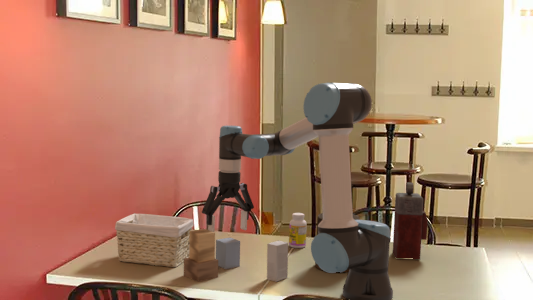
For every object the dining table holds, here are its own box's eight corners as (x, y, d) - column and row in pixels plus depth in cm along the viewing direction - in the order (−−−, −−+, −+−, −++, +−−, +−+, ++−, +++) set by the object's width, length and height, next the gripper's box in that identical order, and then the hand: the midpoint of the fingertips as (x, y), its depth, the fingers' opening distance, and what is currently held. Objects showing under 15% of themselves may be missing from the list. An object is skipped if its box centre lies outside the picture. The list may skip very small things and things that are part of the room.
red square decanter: (426, 260, 248) (430, 185, 245) (395, 259, 248) (399, 184, 245) (422, 253, 257) (426, 181, 253) (392, 252, 257) (396, 180, 254)
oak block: (214, 259, 220) (215, 232, 219) (198, 262, 216) (199, 235, 215) (204, 255, 225) (205, 229, 224) (189, 258, 221) (189, 231, 220)
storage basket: (194, 257, 243) (195, 217, 242) (178, 269, 228) (178, 227, 226) (133, 251, 249) (133, 212, 247) (113, 263, 233) (113, 221, 232)
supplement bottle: (285, 244, 265) (286, 212, 263) (300, 243, 267) (301, 211, 266) (293, 249, 258) (294, 216, 257) (308, 247, 261) (310, 215, 260)
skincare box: (277, 275, 224) (278, 240, 223) (287, 278, 222) (288, 242, 220) (266, 279, 220) (267, 243, 218) (276, 282, 217) (277, 245, 216)
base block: (217, 277, 221) (218, 259, 220) (198, 282, 215) (198, 263, 215) (203, 271, 227) (203, 254, 226) (183, 276, 221) (183, 258, 220)
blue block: (239, 266, 234) (240, 241, 232) (225, 269, 230) (225, 243, 229) (229, 262, 238) (230, 237, 237) (215, 265, 234) (216, 239, 233)
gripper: (252, 167, 241) (250, 225, 243) (192, 171, 225) (191, 233, 228) (265, 170, 235) (262, 229, 238) (204, 175, 220) (203, 238, 222)
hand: (227, 231), depth 233 cm, fingers open, 13 cm apart
